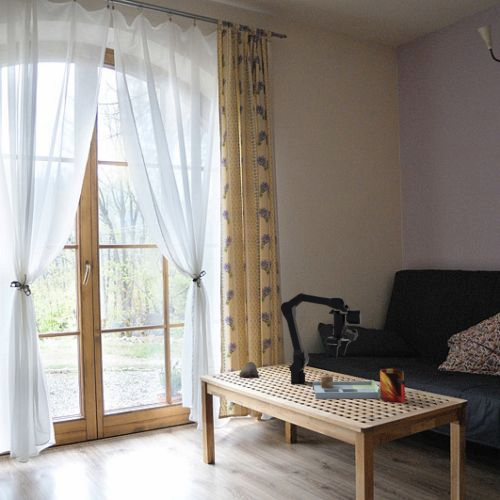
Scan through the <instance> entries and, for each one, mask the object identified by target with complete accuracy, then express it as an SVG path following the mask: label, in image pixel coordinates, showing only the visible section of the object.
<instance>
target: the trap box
mask: <svg viewBox="0 0 500 500" xmlns="http://www.w3.org/2000/svg"><path fill="white" fill-rule="evenodd" d="M312 390H313V391H314V394H315V395H314V396H315V397H314V398H315V399H325V400H326V399H329V400H330V399H331V400H332V399H333V400H334V399H381V395H380V386H379V385H378V384H377V383H376V381H375V380H374V379H371V380H357V381H356V380H352V381H351V380H349V381H348V380H347V381H346V380H344V381H342V380H338V381H336V380H335V381H334V380H333V388H321V381H312Z"/></svg>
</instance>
